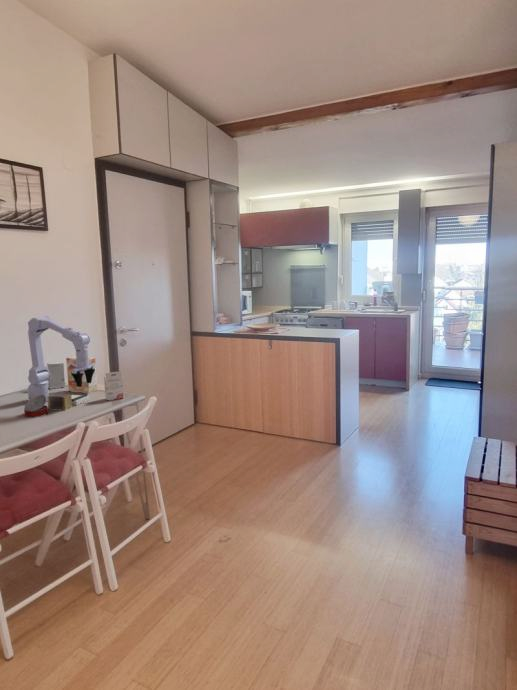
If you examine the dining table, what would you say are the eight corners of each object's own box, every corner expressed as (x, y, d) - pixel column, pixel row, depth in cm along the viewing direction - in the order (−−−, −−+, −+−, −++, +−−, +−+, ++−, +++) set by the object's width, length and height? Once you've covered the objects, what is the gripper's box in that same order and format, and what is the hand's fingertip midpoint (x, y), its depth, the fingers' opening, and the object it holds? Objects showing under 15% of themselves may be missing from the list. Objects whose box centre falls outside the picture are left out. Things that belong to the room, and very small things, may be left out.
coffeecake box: (68, 391, 256) (65, 357, 253) (77, 388, 262) (75, 355, 259) (88, 393, 250) (86, 359, 247) (98, 390, 257) (95, 357, 254)
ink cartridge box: (121, 396, 243) (120, 369, 241) (123, 398, 239) (122, 371, 237) (105, 398, 239) (103, 371, 237) (106, 400, 235) (104, 373, 233)
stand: (53, 403, 231) (53, 398, 230) (68, 398, 241) (67, 392, 241) (76, 405, 227) (76, 399, 227) (90, 399, 237) (90, 394, 237)
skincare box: (50, 389, 261) (48, 364, 259) (48, 387, 266) (46, 362, 264) (65, 387, 266) (63, 362, 263) (63, 385, 271) (61, 361, 268)
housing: (48, 409, 222) (47, 396, 221) (55, 406, 226) (54, 393, 225) (65, 410, 219) (64, 397, 218) (72, 407, 224) (71, 394, 223)
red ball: (48, 423, 214) (50, 407, 210) (24, 425, 209) (26, 408, 204) (45, 407, 222) (47, 391, 218) (22, 408, 217) (24, 392, 212)
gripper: (79, 361, 218) (81, 388, 220) (98, 356, 232) (99, 381, 234) (67, 360, 220) (69, 387, 222) (86, 355, 234) (88, 381, 236)
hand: (84, 384), depth 228 cm, fingers open, 7 cm apart
